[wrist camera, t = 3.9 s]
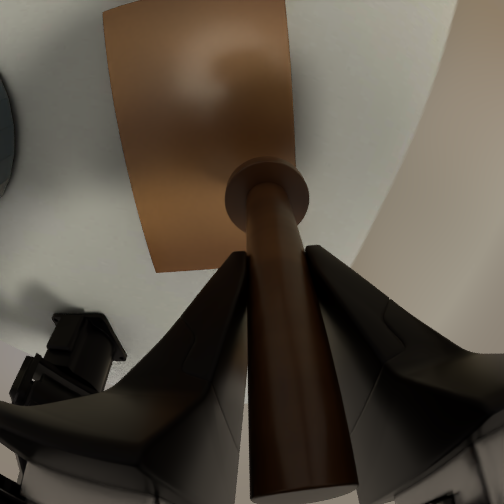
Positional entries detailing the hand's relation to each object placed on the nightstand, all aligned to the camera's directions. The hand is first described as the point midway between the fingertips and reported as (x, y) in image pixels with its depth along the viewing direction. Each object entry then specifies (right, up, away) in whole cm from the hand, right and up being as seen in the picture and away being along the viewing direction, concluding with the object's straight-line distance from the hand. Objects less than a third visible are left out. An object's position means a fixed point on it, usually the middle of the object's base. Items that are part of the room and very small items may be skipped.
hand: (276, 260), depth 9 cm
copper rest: (-3, +7, +8) cm, 11 cm away
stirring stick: (0, +3, +4) cm, 5 cm away
